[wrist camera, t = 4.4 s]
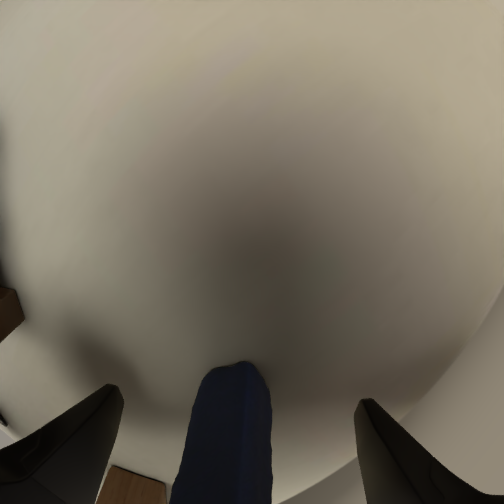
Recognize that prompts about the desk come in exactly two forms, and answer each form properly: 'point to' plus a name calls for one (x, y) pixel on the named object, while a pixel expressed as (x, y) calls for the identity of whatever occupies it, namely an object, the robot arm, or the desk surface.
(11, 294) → the rack
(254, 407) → the eraser
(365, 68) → the desk surface
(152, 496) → the wooden block
